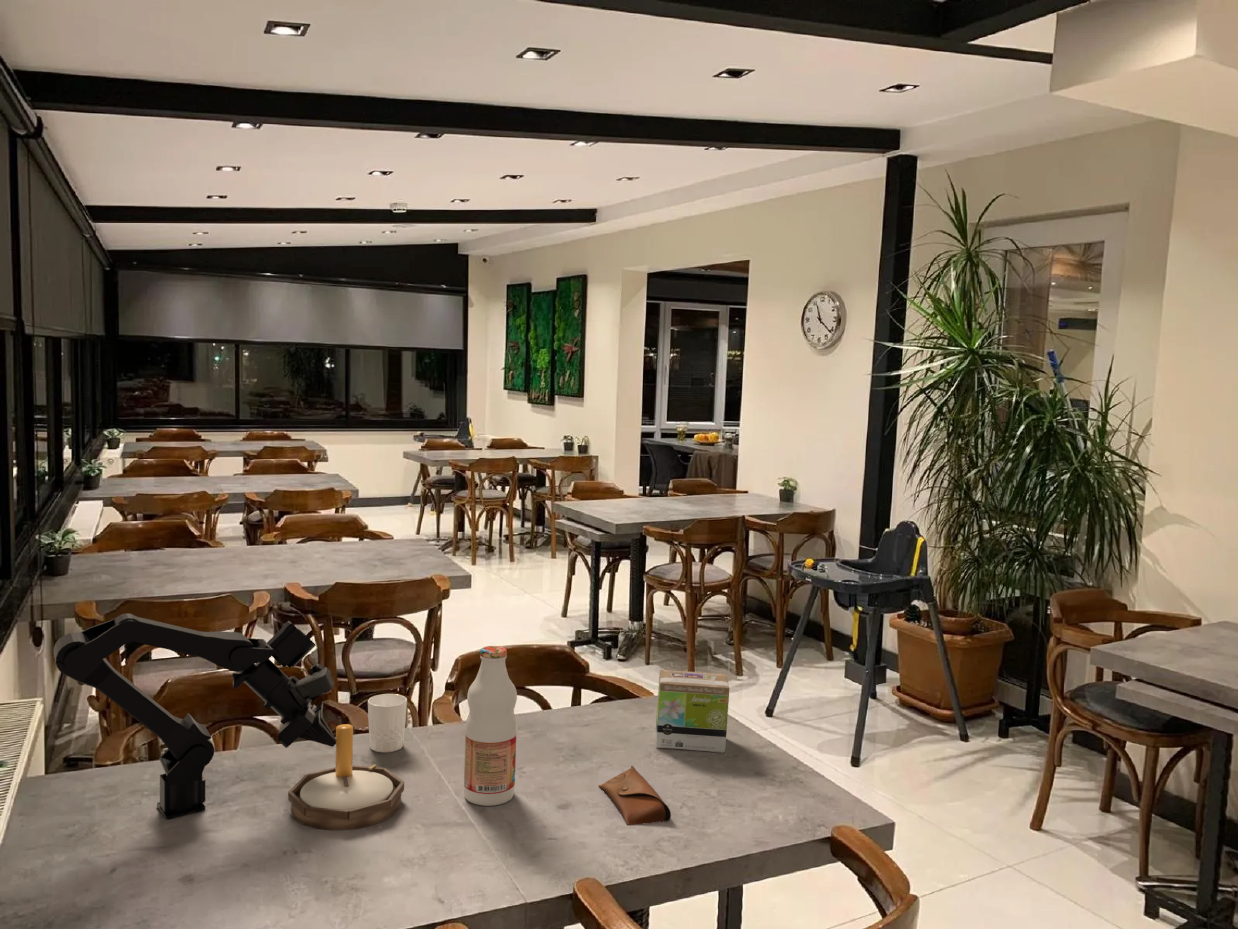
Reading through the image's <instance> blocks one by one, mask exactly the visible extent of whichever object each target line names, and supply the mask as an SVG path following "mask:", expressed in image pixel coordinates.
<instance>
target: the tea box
mask: <svg viewBox="0 0 1238 929" xmlns="http://www.w3.org/2000/svg"><path fill="white" fill-rule="evenodd" d="M657 688H658V689H657V690H658V692H657V706H656V719H655V720H656V721H655V740H656V741H655V742H656V743H655V745H656V746H655V747H656V749H675V750H676V749H677V750H689V751H700V752H701V751H702V752H708V753H709V752H711V753H721V754H724V753H725V751H726V747H727V746H726V744H727V731H728V730H727V729H728V714H729V712H728V711H729V703H730V685H729V682H728V676H727V674H726V673H713V672H701V671H699V672H698V671H686V670H685V671H684V670H671V669H670V670H669V669H660V670H659V676H658V687H657Z"/></svg>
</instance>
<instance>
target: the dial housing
mask: <svg viewBox="0 0 1238 929" xmlns="http://www.w3.org/2000/svg"><path fill="white" fill-rule="evenodd" d="M377 766H378V765H377V764H374V763H373V764H371V765H370V766H364V765H355V764H352V770H360V771H370V772H375V773H379V774H381V775H384V776H386V777H387V778H389V779H390V780H391V782H392V784H393V793H392V795H391V796H390V797H389V799H388V800H385V801H381V802H377V803H373V804H370V805H366V806H362V807H359V808H355V809H351V810H340V809H329V808H317V807H307V806H306V805H305V804H304V803H303V802H302V801H301V799H300V791H301V789H302V787H303V786H304V785H305V784H306V783H307V782H309V781H310V780H312V779H314V778H316V777H319V776H322V775H325V774H329V773H333V772H336V766H335V767H331V768H327V769H322V770H318V771H313V772H309V773H306V774H305V775H304V776H302V778H301V779H300V780H298V782H296V783H295V784H294V785H293V786H292V787H291V788H290V789H289V790H288V791H287V795H288V796H287V801H288V802H290V813H291V816H292V817H293V819H294V820H295V821H297V823H299V824H301V825H303V826H306V827H310V828H312V829H318V830H325V831H348V830H357V829H361V828H365V827H370V826H373V825H376V824H378V823H381V822H384V821H385V820H387V819H389V818H391V817H392V816H394V815H395V814H396V813H397V812H398V811H399V810H400V808H401V805H402V794H403V792H404V791H405V781H403V780H402V779H401V778H399V777H398V776H397V775H396V774H394V773H393V772H392V771H390V770H389V769H388V768H385V767H381V766H380V767H377Z"/></svg>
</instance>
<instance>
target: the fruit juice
mask: <svg viewBox="0 0 1238 929" xmlns="http://www.w3.org/2000/svg"><path fill="white" fill-rule="evenodd" d="M479 657H480V660H481V663H480V666H479V669H478V672H477V674H476V677H475V679H474V681H473V682H472V683H471V684H470V686H469V688H468V691H467V695H466V696H467V697H466V698H467V699H466V701H467V705H468V709H469V713H468V715H467V716H466V722H465V736H464V737H465V740H464V741H465V743H464V766H463V767H464V770H463V771H464V773H463V774H464V776H463V794H464V798H465V799H466V801H468V802H469V803H472V804H474V805H477V806H482V807H483V806H487V807H491V806H493V807H494V806H499V805H503V804H505V803H508V802H509V801H510V800H512V798H513V797H514V795H515V786H516V759H517V758H516V757H517V754H516V753H517V732H518V730H517V728H518V727H517V726H518V725H517V716H516V715H515V708H516V704H517V700H518V693H517V688H516V686H515V684H514V683H513V682H512V680H511V679H510V676H509V674H508V670H507V666H506V659H507V658H508V650H507V648H506V647H504V646H501V645H486V646H483V647H481V648H480V651H479Z"/></svg>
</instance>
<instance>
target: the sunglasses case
mask: <svg viewBox="0 0 1238 929" xmlns="http://www.w3.org/2000/svg"><path fill="white" fill-rule="evenodd" d="M598 788H599V789H600V790H601V791H602V790H603V791H604V792H605V793H604V794H605V795H606V794H607V795H606V796H607V797H608V799H609V800H610V799H611V800H610V801H611V802H612V804H613V805H614V806H615V808H616V809H617V811H618V812H619V814H620V815H621V814H622V815H621V817H622V818H623V820H624V823H625V824H626V826H634V825H644V824H643V823H646V824H653V823H652V822H655V823H663V821H664V822H667V821H668V822H670V819H671V817H672V815H671V814H672V812H671V810H670V808H669V806H668V805H667V803H665V802H664V800H663V799H662V797H661V796H660V795H659V794H658V793H657V791H656V790H655V789H654V788H653V786H652V785H651V784H650V783H649V782H648V781H647V780H646V778H645V777H644V776H643V775H642V774H640V773H639V771H638V770H637V769H636V768H635V767H634V766H633V765H630V768H628V769H626V770H625V771H623V772H621V773H619V774H617V775H616V776H614V777H612V778H610V779H608V780H607V781H605V782H604V783H602V784H598ZM603 791H602V792H603ZM659 821H661V822H659Z"/></svg>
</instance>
